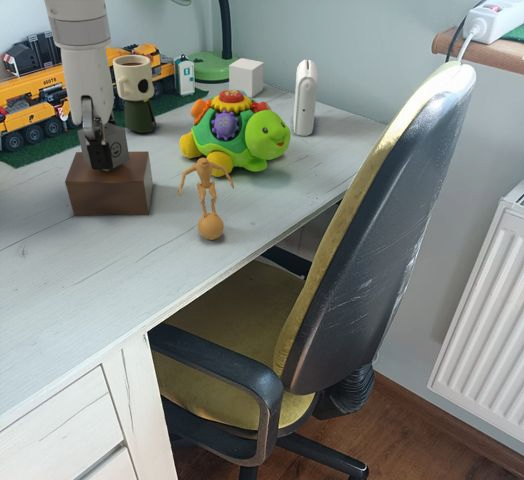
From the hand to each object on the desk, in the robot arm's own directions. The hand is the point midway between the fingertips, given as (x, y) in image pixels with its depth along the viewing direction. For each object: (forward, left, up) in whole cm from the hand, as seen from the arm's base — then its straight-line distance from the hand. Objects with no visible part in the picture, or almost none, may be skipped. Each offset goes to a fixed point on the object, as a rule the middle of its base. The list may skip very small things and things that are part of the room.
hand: (106, 156), depth 82 cm
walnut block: (0, 0, -8) cm, 8 cm away
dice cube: (0, 0, -1) cm, 1 cm away
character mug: (+2, +28, -8) cm, 29 cm away
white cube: (+25, +49, -8) cm, 56 cm away
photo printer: (+36, +29, -8) cm, 47 cm away
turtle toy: (+22, +13, -8) cm, 27 cm away
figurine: (+16, -11, -8) cm, 21 cm away
